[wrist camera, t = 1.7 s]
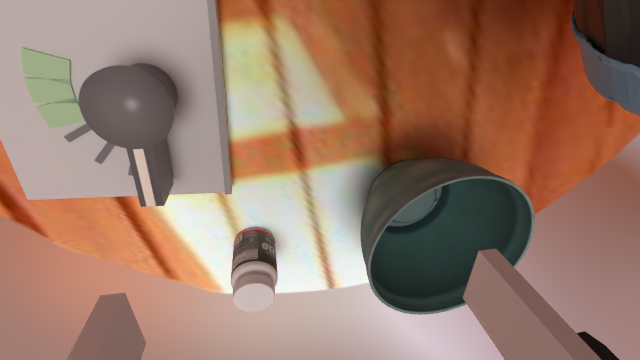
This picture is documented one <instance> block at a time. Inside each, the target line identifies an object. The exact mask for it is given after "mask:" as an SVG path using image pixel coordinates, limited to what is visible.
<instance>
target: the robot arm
mask: <svg viewBox="0 0 640 360" xmlns="http://www.w3.org/2000/svg"><path fill="white" fill-rule="evenodd" d="M573 7H574V11H573V14H572V16H571V28H572V31H573V34H574V36H575V38H576V39H577V41H578V42H579V45H580V50H581V55H582V60H583V66H584V70H585V74H586V76H587V78H588V80H589V82H590V83H591V85H592V86H593V88H594V89H595V90H596V91H597V92H598V93H599V94H600V95H602V96H603V97H604V98H606V99H608V100H610V101H614V102H617V103H619V105H620V106H621V107H623V108H624V109H625V110H627V111H629V112H631V113H634V114H637V115H640V0H573ZM463 299H464V300H465V302H466V303H467V305H468V306H469V308H470V309H471V311H472V312H473V313H474V315H475V316H476V318H477V319H478V321H479V322H480V324H481V325H482V327H483V328H484V330H485V331H486V333H487V334H488V335H489V337H490V338H491V340H492V341H493V343H494V344H495V346H496V347H497V349H498V350H499V352H500V353H501V354H502V356H503V357H504V359H505V360H619V359H618V358H617V357H616V356H615V355H614V354H613V353H612V352H611V351H610V350H609V349H608V348H607V347H606V346H605V345H604V344H602V343H601V342H599V341H598V340H596V339H595V338H593V337H592V336H591V335H589V334H588V333H586V332H580V333H576V332H575V331H574V330H573V329H572V328H571V327H570V326H569V325H568V324H567V323H566V322H565V321H564V320H563V319H562V318H561V317H560V316H559V314H558V313H557V312H556V311H555V310H554V309H553V308H552V307H551V306H550V305H549V304H548V303H547V302H546V301H545V300H544V299H543V298H542V296H540V294H539V293H538V292H537V291H536V290H535V289H534V288H533V287H532V286H531V285H530V284H529V283H528V282H527V281H526V280H525V279H524V277H523V276H522V275H521V274H520V273H519V272H518V271H517V270H516V269H515V268H514V267H513V266H512V265H511V264H510V263H509V262H508V261H507V260H506V258H505V257H504V256H503V255H502V254H501V253H500V252H499V251H498V250H497V249H488V250H480V251H479V252H478V254H477V257H476V260H475V263H474V266H473V269H472V272H471V275H470V278H469V281H468V284H467V287H466V290H465V293H464V296H463ZM145 345H146V342H145V339H144V337H143V335H142V332H141V330H140V327H139V325H138V323H137V320H136V318H135V315H134V313H133V311H132V309H131V306H130V304H129V301H128V299H127V297H126V294H125V293H119V294H111V295H102V296H100V297H99V299H98V301H97V303H96V305H95V307H94V309H93V310H92V312H91V314H90V316H89V318H88V320H87V322H86V324H85V326H84V328H83V330H82V332H81V334H80V335H79V337H78V340H77V341H76V343H75V345H74V347H73V349H72V351H71V353H70V355H69V357H68V359H67V360H141V357H142V354H143V351H144V348H145Z"/></svg>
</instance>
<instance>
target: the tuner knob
mask: <svg viewBox="0 0 640 360" xmlns="http://www.w3.org/2000/svg"><path fill="white" fill-rule="evenodd" d="M177 100H178V94H177V89H176V86H175V84H174V82H173V81H172V79H171V78H170V77H169V76H168V75H167V74H166V73H165V72H164V71H163V70H161V69H159V68H158V67H156V66H153V65H150V64H144V63H137V64H133V65H130V66H126V65H113V66H108V67H105V68H102V69H100V70H98V71H96V72H94V73H92V74H91V75H90V76H89V77H88V78H87V79H86V80H85V81H84V83H83V84H82V86H81V88H80V92H79V107H80V111H81V114H82V116H83V118H84V120H85V122H86V123H87V124H88V126H89V127H90V128H91V129H92V130H93V131H94V132H95V133H96V134H97V135H98V136H99V137H101V138H102V139H104V140H105V141H107V142H109V143H111V144H113V145H116V146H118V147H122V148H126V149H127V153H128V157H129V161H130V165H131V169H132V173H133V177H134V181H135V185H136V189H137V193H138V197H139V201H140V205H141V207H143V206H164V205H165V202H166V200H167V198H168V195H169V193H170V191H171V188H172V186H173V184H174V181H173V176H172V171H171V165H170V160H169V154H168V149H167V143H166V138H165V137H166V136H167V134H168V133H169V131H170V129H171V128H172V125H173V122H174V116H175V111H174V109H175V107H176V104H177Z"/></svg>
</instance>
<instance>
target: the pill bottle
mask: <svg viewBox="0 0 640 360" xmlns="http://www.w3.org/2000/svg"><path fill="white" fill-rule="evenodd" d="M277 277H278V276H277V263H276V251H275V241H274V238H273V236H272V234H271V233H270V232H268V231H267V230H265V229H262V228H249V229H246V230H244V231H242V232H241V233H239V234H238V236H237V237H236V239H235V241H234V250H233V262H232V273H231V285H232V287H233V302H234V304H235V306H236V307H237V308H239V309H241V310H243V311H247V312H256V311H260V310H263V309H265V308H267V307H268V306H270V305H271V304H272V302H273V301H274V298H275V286H276V283H277Z"/></svg>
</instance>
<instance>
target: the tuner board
mask: <svg viewBox="0 0 640 360" xmlns="http://www.w3.org/2000/svg"><path fill="white" fill-rule="evenodd" d="M23 47H24V48H27V49H31V50H35V51H39V52H42V53H46V54H50V55H54V56H58V57H61V58H65V59H69V60H71V83H72V86H73V89H74V92H75V96H76V99H77V101H78V103H79V92H80V88H81V86H82V84H83V83H84V81H85V80H86V79H87V78H88V77H89V76H90V75H91V74H92V73H94V72H96V71H98V70H100V69H102V68H105V67H108V66H113V65H126V66H130V65H133V64H137V63H144V64H150V65H153V66H156V67H158V68H159V69H161V70H163V71H164V72H165V73H166V74H167V75H168V76H169V77H170V78H171V79H172V81H173V82H174V84H175V86H176V89H177V94H178V100H177V104H176V107H175V109H174V111H175V116H174V122H173V125H172V128H171V129H170V131H169V133H168V134H167V136H166V137H165V138H166V143H167V149H168V154H169V160H170V165H171V171H172V176H173V181H174V184H173V186H172V188H171V191H170V193H169V194H194V193H220V192H225V194H232V172H231V160H230V148H229V135H228V123H227V110H226V98H225V86H224V73H223V61H222V49H221V36H220V24H219V11H218V0H0V139H1V142H2V144H3V146H4V148H5V151H6V153H7V155H8V157H9V159H10V162H11V164H12V166H13V168H14V171H15V173H16V175H17V177H18V180H19V182H20V184H21V186H22V188H23V191H24V193H25V195H26V197H27V200H38V199H64V198H90V197H116V196H138V193H137V189H136V185H135V181H134V177H133V176H130V175H128V172H129V167H130V161H129V157H128V153H127V149H126V148H122V147H118V146H116V145H115V146H114V147H113V149H112V150H111V152H110V153H109V154H108V156H107V157H106V158H105V160H104V161H103V163H102V164H99V163H98V162H96V161H94V160H95V159H96V157H97V156H98V154H99V153H100V152H101V150H102V149H103V147H104V146H105V145H106V143H107V141H105V140H104V139H102V138H101V137H99V136H98V135H97V134H96V133H95V132H94V131H93V130H90V131H89V132H87V133H85V134H84V135H82V136H80V137H78V138H77V139H75V140H73V141H71V142H70V143H69V142H68V141H67V140H66V139H65V138H64V136H66V135H67V134H69V133H71V132H73V131H74V130H76V129H78V128H79V127H81V126H83V125H85V124H86V122H85V121H81V122H77V123H73V124H69V125H65V126H60V127H56V128H52V129H50V127H49V126H48V124H47V123H46V121H45V120H44V118H43V117H42V116H41V114H40V113H39V111H38V110H37V108H36V107H37V106H40V105H44V104H48V103H33V100H32V98H31V95H30V92H29V90H28V87H27V84H26V82H25V79H24V78H26V77H28V78H39V77H35V76H31V75H27V74H23V64H22V51H21V48H23Z"/></svg>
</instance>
